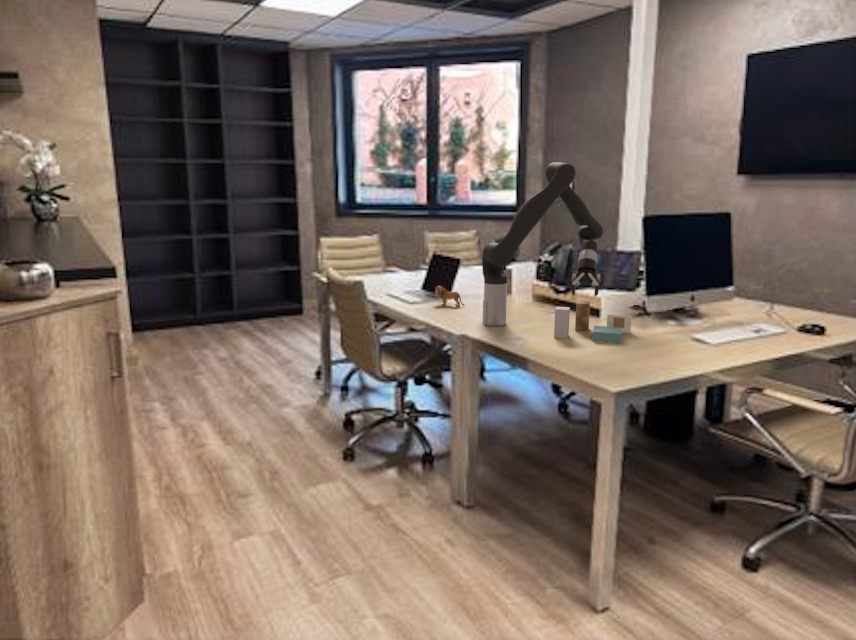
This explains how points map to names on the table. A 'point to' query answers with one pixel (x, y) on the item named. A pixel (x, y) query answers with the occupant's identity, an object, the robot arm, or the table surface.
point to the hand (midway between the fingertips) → (584, 294)
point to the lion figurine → (447, 295)
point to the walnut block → (582, 316)
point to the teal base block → (607, 334)
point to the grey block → (561, 322)
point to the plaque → (620, 322)
